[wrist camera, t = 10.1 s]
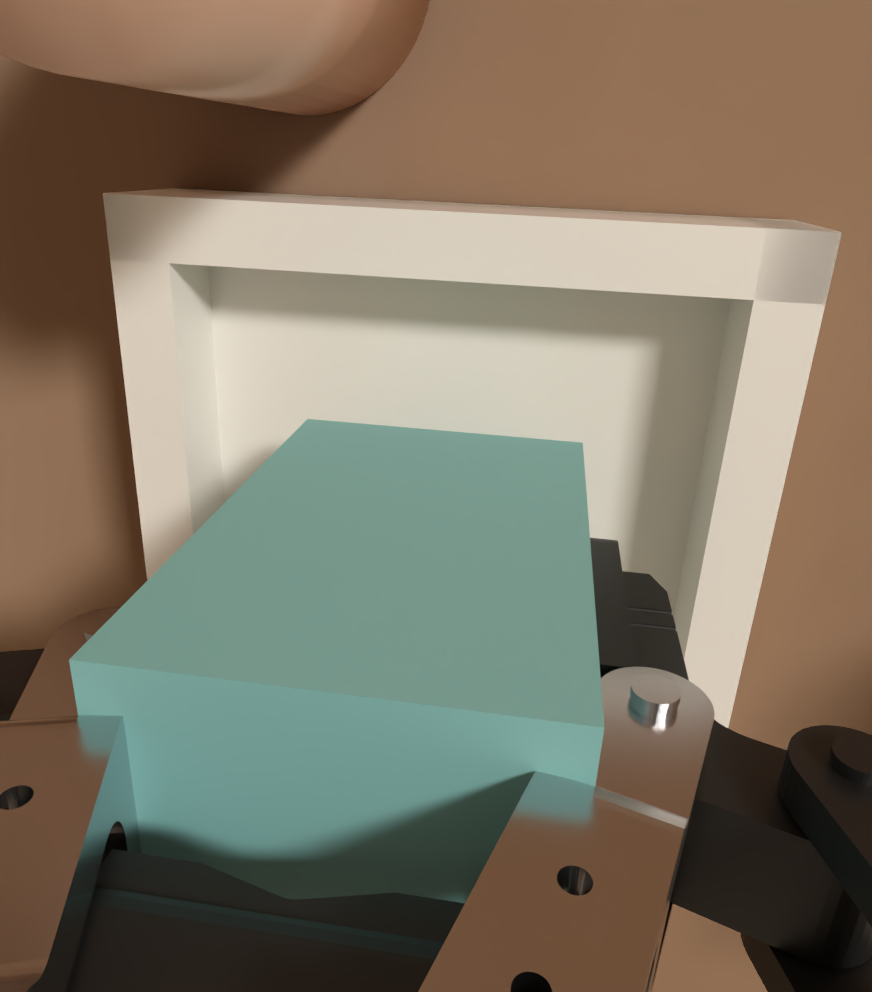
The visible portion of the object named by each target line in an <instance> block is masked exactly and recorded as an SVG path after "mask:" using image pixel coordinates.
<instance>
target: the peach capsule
mask: <svg viewBox="0 0 872 992" xmlns="http://www.w3.org/2000/svg"><path fill="white" fill-rule="evenodd" d="M428 5H429V0H0V54H1V55H3V56H6V57H8V58H10V59H13V60H15V61H18V62H20V63H22V64H25V65H27V66H29V67H33V68H37V69H41V70H45V71H48V72H52V73H56V74H60V75H66V76H72V77H78V78H84V79H90V80H95V81H101V82H107V83H113V84H119V85H124V86H130V87H136V88H142V89H148V90H153V91H159V92H165V93H171V94H177V95H182V96H188V97H194V98H200V99H206V100H212V101H217V102H223V103H229V104H235V105H241V106H246V107H252V108H258V109H264V110H270V111H275V112H281V113H287V114H295V115H322V114H327V113H333V112H337V111H340V110H343V109H346V108H348V107H351V106H353V105H355V104H357V103H359V102H361V101H363V100H365V99H366V98H368V97H369V96H370V95H372V94H373V93H375V92H376V91H377V90H379V89H380V88H381V87H382V86H383V85H384V84H385V83H386V82H387V81H388V80H389V79H390V78H391V77H392V76H393V75H394V74H395V73H396V71H397V70H398V69H399V68H400V66H401V65H402V64H403V63H404V61H405V59H406V58H407V56H408V55H409V53H410V51H411V50H412V48H413V46H414V44H415V42H416V40H417V37H418V35H419V33H420V31H421V29H422V25H423V22H424V19H425V16H426V13H427V10H428Z"/></svg>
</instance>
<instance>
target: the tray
mask: <svg viewBox="0 0 872 992" xmlns="http://www.w3.org/2000/svg"><path fill="white" fill-rule="evenodd" d="M103 201H104V210H105V219H106V227H107V236H108V245H109V253H110V262H111V271H112V279H113V288H114V297H115V305H116V314H117V323H118V332H119V340H120V349H121V358H122V366H123V375H124V384H125V392H126V401H127V410H128V418H129V427H130V436H131V444H132V453H133V462H134V470H135V479H136V488H137V496H138V505H139V514H140V523H141V531H142V540H143V549H144V557H145V566H146V575H147V581H148V579H149V578H150V577H151V576H152V575H153V574H154V573H155V572H156V571H157V570H158V569H159V568H160V567H161V566H162V565H163V564H164V563H165V562H166V561H167V560H168V559H169V558H170V557H171V556H172V555H173V554H174V553H175V552H176V551H177V550H178V549H179V548H180V547H181V546H182V545H183V544H184V543H185V542H186V541H187V540H188V539H189V538H190V537H191V536H192V535H193V534H194V533H195V532H196V531H197V530H198V529H199V528H200V527H201V526H202V525H203V524H204V523H205V522H206V521H207V520H208V519H209V518H210V517H211V516H212V515H213V514H214V513H215V512H216V511H217V510H218V509H219V508H220V507H221V506H222V505H223V504H224V503H225V502H226V501H227V500H228V499H229V498H230V497H231V496H232V495H233V494H234V493H235V492H236V491H237V490H238V489H239V488H240V487H241V486H242V485H243V484H244V483H245V482H246V481H247V480H248V479H249V478H250V476H251V475H252V474H253V473H254V472H255V471H256V470H257V469H258V468H259V467H260V466H261V465H262V464H263V463H264V462H265V461H266V460H267V459H268V458H269V457H270V456H271V455H272V454H273V453H274V452H275V451H276V450H277V449H278V448H279V447H280V446H281V445H282V444H283V443H284V442H285V441H286V440H287V439H288V438H289V437H290V436H291V435H292V434H293V433H294V432H295V431H296V430H297V429H298V428H299V427H300V426H301V425H302V424H303V423H304V422H305V421H306V420H307V419H315V420H327V421H338V422H350V423H361V424H373V425H384V426H396V427H408V428H419V429H431V430H442V431H454V432H466V433H477V434H489V435H500V436H512V437H523V438H535V439H547V440H558V441H570V442H581V443H583V453H584V466H585V479H586V492H587V505H588V518H589V532H590V538H599V539H609V540H617V541H618V545H619V552H620V558H621V565H622V571H625V572H635V573H645V574H650V575H651V576H652V577H653V578H654V579H655V580H656V581H657V582H658V583H659V584H660V585H661V586H662V587H663V588H664V589H665V590H666V591H667V593H668V597H669V601H670V605H671V609H672V615H673V617H674V621H675V626H676V631H677V634H678V638H679V642H680V646H681V650H682V654H683V658H684V662H685V666H686V670H687V675H688V679H689V681H690V682H692V683H693V684H695V685H696V686H697V687H699V688H700V689H701V690H702V691H703V692H704V693H705V694H706V695H707V697H708V698H709V699H710V701H711V703H712V705H713V708H714V713H715V714H714V720H716V721H717V722H718V723H720V724H721V725H723V726H725V727H726V728H728V726H729V722H730V717H731V713H732V709H733V704H734V700H735V696H736V691H737V687H738V683H739V678H740V674H741V670H742V665H743V661H744V656H745V652H746V648H747V643H748V639H749V635H750V630H751V626H752V622H753V617H754V613H755V609H756V604H757V600H758V595H759V591H760V587H761V582H762V578H763V574H764V569H765V565H766V561H767V556H768V552H769V548H770V543H771V539H772V534H773V530H774V526H775V521H776V517H777V513H778V508H779V504H780V500H781V495H782V491H783V487H784V482H785V478H786V473H787V469H788V465H789V460H790V456H791V452H792V447H793V443H794V439H795V434H796V430H797V426H798V421H799V417H800V412H801V408H802V404H803V399H804V395H805V391H806V386H807V382H808V378H809V373H810V369H811V365H812V360H813V356H814V351H815V347H816V343H817V338H818V334H819V330H820V325H821V321H822V317H823V312H824V308H825V304H826V299H827V295H828V290H829V286H830V282H831V277H832V273H833V269H834V264H835V260H836V256H837V251H838V247H839V242H840V238H841V234H842V232H839V231H835V230H831V229H827V228H823V227H819V226H815V225H811V224H808V223H804V222H800V221H796V220H783V219H763V218H744V217H724V216H705V215H686V214H666V213H647V212H627V211H608V210H589V209H569V208H550V207H530V206H511V205H492V204H472V203H453V202H433V201H414V200H395V199H375V198H356V197H336V196H317V195H298V194H278V193H259V192H239V191H220V190H201V189H181V188H168V189H154V190H140V191H126V192H112V193H103Z"/></svg>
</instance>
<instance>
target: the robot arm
mask: <svg viewBox="0 0 872 992" xmlns="http://www.w3.org/2000/svg"><path fill="white" fill-rule="evenodd" d="M590 545H591V558H592V571H593V584H594V597H595V610H596V623H597V636H598V649H599V663H600V676H601V689H602V702H603V715H604V734H603V740H602V747H601V753H600V760H599V766H598V773H597V779H596V786H592V785H589V784H585V783H582V782H579V781H575V780H572V779H568V778H564V777H559V776H555V775H551V774H547V773H543V772H538V771H536V772H535V773H534V775H533V777H532V778H531V780H530V782H529V784H528V786H527V787H526V789H525V791H524V793H523V795H522V797H521V799H520V801H519V803H518V804H517V806H516V808H515V810H514V812H513V814H512V816H511V818H510V820H509V821H508V823H507V825H506V827H505V829H504V831H503V833H502V835H501V837H500V838H499V840H498V842H497V844H496V846H495V848H494V850H493V852H492V853H491V855H490V857H489V859H488V861H487V863H486V865H485V867H484V869H483V870H482V872H481V874H480V876H479V878H478V880H477V882H476V884H475V886H474V887H473V889H472V891H471V893H470V895H469V897H468V899H467V901H466V902H465V903H460V902H453V901H447V900H440V899H434V898H427V897H421V896H414V895H408V894H401V893H383V894H369V895H354V896H340V897H326V898H312V899H288V898H284V897H281V896H278V895H276V894H273V893H271V892H269V891H266V890H264V889H262V888H259V887H257V886H255V885H252V884H250V883H248V882H245V881H243V880H241V879H238V878H236V877H234V876H231V875H229V874H227V873H224V872H222V871H220V870H217V869H215V868H213V867H210V866H208V865H206V864H203V863H200V862H193V861H187V860H180V859H174V858H167V857H161V856H154V855H148V854H142V850H141V843H140V836H139V829H138V821H137V814H136V807H135V800H134V792H133V785H132V778H131V771H130V763H129V756H128V749H127V742H126V734H125V727H124V720H123V716H101V715H88V716H78V712H77V706H76V700H75V694H74V688H73V682H72V676H71V669H70V663H69V659H70V658H71V657H72V656H73V655H74V654H75V653H76V652H77V651H78V650H79V649H80V648H81V647H82V646H83V645H84V644H85V643H86V642H87V641H88V640H89V639H90V638H91V637H92V636H93V635H94V634H95V633H96V632H97V631H98V630H99V629H100V628H101V627H102V626H103V625H104V624H105V623H106V622H107V621H108V620H109V619H110V618H111V617H112V616H113V615H114V614H115V613H116V612H117V611H118V610H119V609H120V608H121V607H112V608H105V609H99V610H95V611H91V612H88V613H85V614H82V615H79V616H77V617H75V618H73V619H71V620H69V621H67V622H66V623H64V624H63V625H61V626H60V627H59V628H58V629H57V630H56V631H55V632H54V633H53V634H52V636H51V637H50V639H49V641H48V643H47V645H46V647H45V649H35V650H22V651H8V652H0V992H652V989H653V985H654V981H655V977H656V973H657V968H658V964H659V960H660V956H661V952H662V948H663V944H664V940H665V936H666V932H667V928H668V923H669V919H670V915H671V911H672V907H673V904H676V905H678V906H680V907H682V908H685V909H687V910H689V911H692V912H694V913H696V914H699V915H701V916H703V917H706V918H708V919H710V920H713V921H715V922H717V923H720V924H722V925H724V926H726V927H729V928H731V929H733V930H736V931H738V932H740V933H741V938H742V942H743V945H744V947H745V950H746V952H747V954H748V956H749V958H750V960H751V961H752V963H753V965H754V967H755V969H756V971H757V973H758V974H759V976H760V978H761V980H762V982H763V984H764V985H765V987H766V989H767V991H768V992H872V735H869V734H867V733H864V732H861V731H858V730H854V729H850V728H845V727H840V726H831V725H820V726H813V727H808V728H805V729H802V730H801V731H799V732H797V733H796V734H795V735H794V736H793V737H792V738H791V740H790V742H789V745H788V749H787V750H784V749H781V748H778V747H775V746H772V745H769V744H766V743H763V742H760V741H757V740H754V739H751V738H748V737H746V736H743V735H740V734H738V733H736V732H734V731H732V730H730V729H728V728H726V727H725V726H723V725H721V724H720V723H718V722H717V721H716V720H714V714H715V713H714V708H713V705H712V703H711V701H710V699H709V698H708V697H707V695H706V694H705V693H704V692H703V691H702V690H701V689H700V688H699V687H697V686H696V685H695V684H693V683H692V682H690V681H689V679H688V675H687V670H686V666H685V662H684V658H683V654H682V650H681V646H680V642H679V638H678V634H677V631H676V626H675V621H674V617H673V615H672V609H671V605H670V601H669V597H668V593H667V591H666V590H665V589H664V588H663V587H662V586H661V585H660V584H659V583H658V582H657V581H656V580H655V579H654V578H653V577H652V576H651V575H650V574H645V573H635V572H625V571H622V565H621V558H620V552H619V545H618V541H617V540H609V539H599V538H590Z"/></svg>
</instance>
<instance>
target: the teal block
mask: <svg viewBox="0 0 872 992" xmlns="http://www.w3.org/2000/svg"><path fill="white" fill-rule="evenodd" d="M69 663H70V669H71V676H72V682H73V688H74V694H75V700H76V706H77V712H78V716H88V715H101V716H123V720H124V727H125V734H126V742H127V749H128V756H129V763H130V771H131V778H132V785H133V792H134V800H135V807H136V814H137V821H138V829H139V836H140V843H141V850H142V854H148V855H154V856H161V857H167V858H174V859H180V860H187V861H193V862H200V863H203V864H206V865H208V866H210V867H213V868H215V869H217V870H220V871H222V872H224V873H227V874H229V875H231V876H234V877H236V878H238V879H241V880H243V881H245V882H248V883H250V884H252V885H255V886H257V887H259V888H262V889H264V890H266V891H269V892H271V893H273V894H276V895H278V896H281V897H284V898H288V899H312V898H326V897H340V896H354V895H369V894H383V893H401V894H408V895H414V896H421V897H427V898H434V899H440V900H447V901H453V902H460V903H465V902H466V901H467V899H468V897H469V895H470V893H471V891H472V889H473V887H474V886H475V884H476V882H477V880H478V878H479V876H480V874H481V872H482V870H483V869H484V867H485V865H486V863H487V861H488V859H489V857H490V855H491V853H492V852H493V850H494V848H495V846H496V844H497V842H498V840H499V838H500V837H501V835H502V833H503V831H504V829H505V827H506V825H507V823H508V821H509V820H510V818H511V816H512V814H513V812H514V810H515V808H516V806H517V804H518V803H519V801H520V799H521V797H522V795H523V793H524V791H525V789H526V787H527V786H528V784H529V782H530V780H531V778H532V777H533V775H534V773H535V772H536V771H538V772H543V773H547V774H551V775H555V776H559V777H564V778H568V779H572V780H575V781H579V782H582V783H585V784H589V785H592V786H596V779H597V773H598V766H599V760H600V753H601V747H602V740H603V734H604V715H603V702H602V689H601V676H600V663H599V649H598V636H597V623H596V610H595V597H594V584H593V571H592V558H591V545H590V532H589V518H588V505H587V492H586V479H585V466H584V453H583V443H581V442H570V441H558V440H547V439H535V438H523V437H512V436H500V435H489V434H477V433H466V432H454V431H442V430H431V429H419V428H408V427H396V426H384V425H373V424H361V423H350V422H338V421H327V420H315V419H307V420H306V421H305V422H304V423H303V424H302V425H301V426H300V427H299V428H298V429H297V430H296V431H295V432H294V433H293V434H292V435H291V436H290V437H289V438H288V439H287V440H286V441H285V442H284V443H283V444H282V445H281V446H280V447H279V448H278V449H277V450H276V451H275V452H274V453H273V454H272V455H271V456H270V457H269V458H268V459H267V460H266V461H265V462H264V463H263V464H262V465H261V466H260V467H259V468H258V469H257V470H256V471H255V472H254V473H253V474H252V475H251V476H250V478H249V479H248V480H247V481H246V482H245V483H244V484H243V485H242V486H241V487H240V488H239V489H238V490H237V491H236V492H235V493H234V494H233V495H232V496H231V497H230V498H229V499H228V500H227V501H226V502H225V503H224V504H223V505H222V506H221V507H220V508H219V509H218V510H217V511H216V512H215V513H214V514H213V515H212V516H211V517H210V518H209V519H208V520H207V521H206V522H205V523H204V524H203V525H202V526H201V527H200V528H199V529H198V530H197V531H196V532H195V533H194V534H193V535H192V536H191V537H190V538H189V539H188V540H187V541H186V542H185V543H184V544H183V545H182V546H181V547H180V548H179V549H178V550H177V551H176V552H175V553H174V554H173V555H172V556H171V557H170V558H169V559H168V560H167V561H166V562H165V563H164V564H163V565H162V566H161V567H160V568H159V569H158V570H157V571H156V572H155V573H154V574H153V575H152V576H151V577H150V578H149V579H148V581H147V582H146V583H145V584H144V585H143V586H142V587H141V588H140V589H139V590H138V591H137V592H136V593H135V594H134V595H133V596H132V597H131V598H130V599H129V600H128V601H127V602H126V603H125V604H124V605H123V606H122V607H121V608H120V609H119V610H118V611H117V612H116V613H115V614H114V615H113V616H112V617H111V618H110V619H109V620H108V621H107V622H106V623H105V624H104V625H103V626H102V627H101V628H100V629H99V630H98V631H97V632H96V633H95V634H94V635H93V636H92V637H91V638H90V639H89V640H88V641H87V642H86V643H85V644H84V645H83V646H82V647H81V648H80V649H79V650H78V651H77V652H76V653H75V654H74V655H73V656H72V657H71V658H70V659H69Z"/></svg>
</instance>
